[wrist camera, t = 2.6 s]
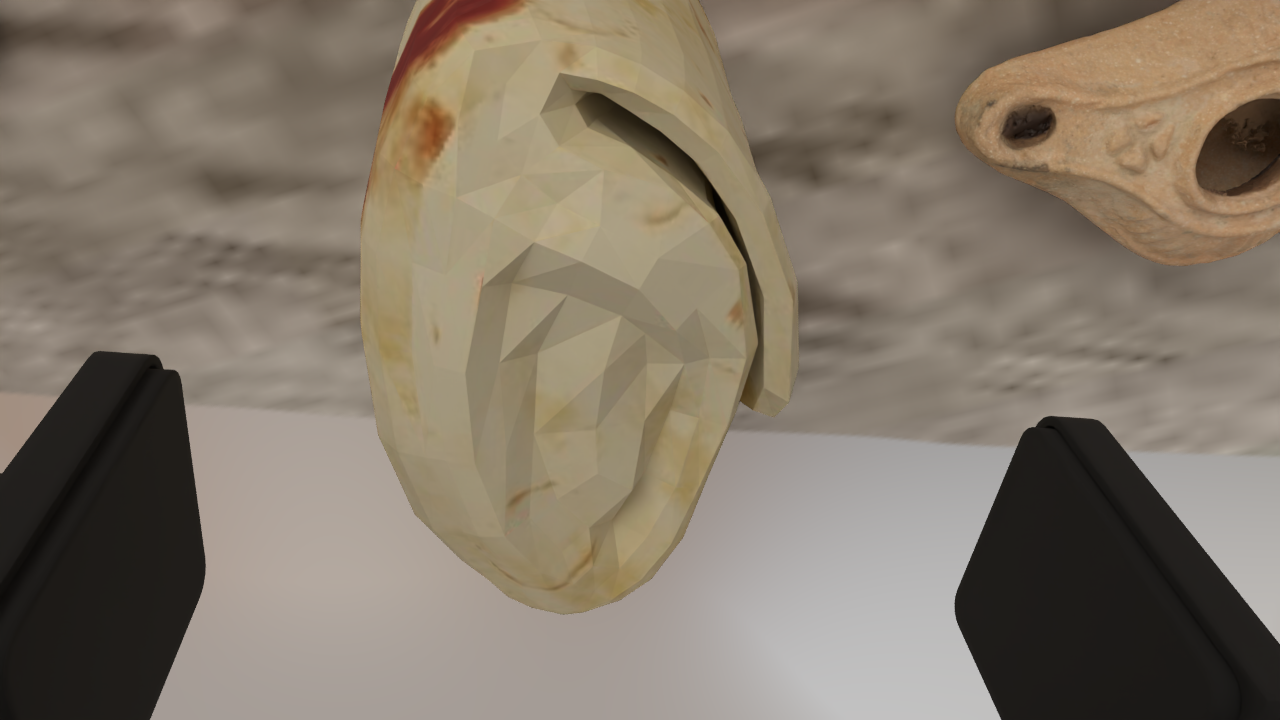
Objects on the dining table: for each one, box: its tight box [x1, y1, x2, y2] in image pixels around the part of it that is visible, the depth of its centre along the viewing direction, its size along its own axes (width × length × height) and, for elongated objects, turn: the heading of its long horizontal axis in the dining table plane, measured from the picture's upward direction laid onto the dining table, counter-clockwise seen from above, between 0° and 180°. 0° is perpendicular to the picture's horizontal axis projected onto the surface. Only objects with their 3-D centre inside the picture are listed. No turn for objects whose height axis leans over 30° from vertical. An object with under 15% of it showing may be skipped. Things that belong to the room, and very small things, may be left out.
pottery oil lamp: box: [955, 0, 1280, 266], centre depth 29 cm, size 9×12×7 cm
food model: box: [360, 0, 799, 614], centre depth 20 cm, size 10×7×20 cm
